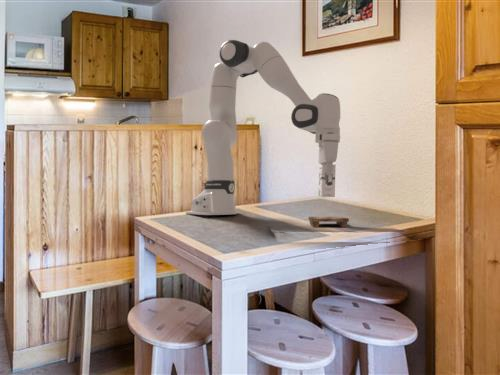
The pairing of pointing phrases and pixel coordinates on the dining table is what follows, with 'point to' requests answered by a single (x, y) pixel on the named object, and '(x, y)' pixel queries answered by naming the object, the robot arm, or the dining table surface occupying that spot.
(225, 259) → the dining table surface
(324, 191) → the ink box
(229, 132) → the robot arm
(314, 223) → the stand
